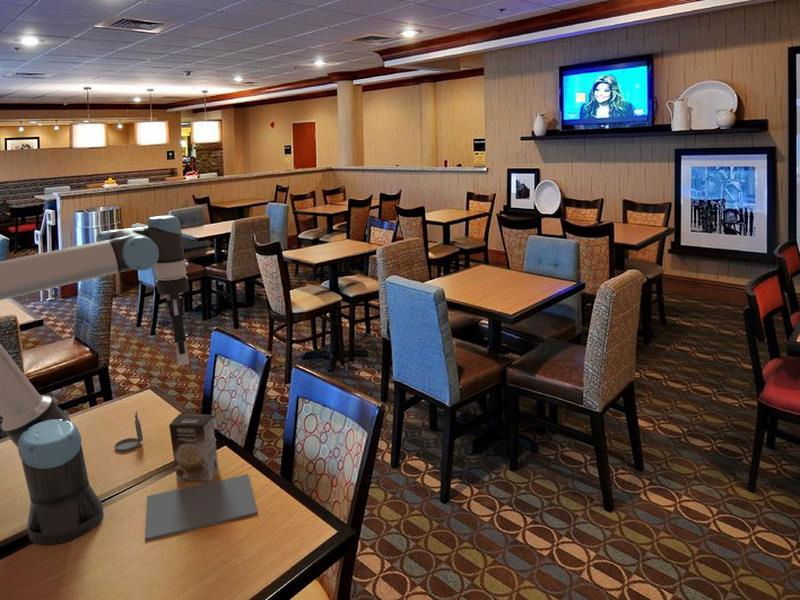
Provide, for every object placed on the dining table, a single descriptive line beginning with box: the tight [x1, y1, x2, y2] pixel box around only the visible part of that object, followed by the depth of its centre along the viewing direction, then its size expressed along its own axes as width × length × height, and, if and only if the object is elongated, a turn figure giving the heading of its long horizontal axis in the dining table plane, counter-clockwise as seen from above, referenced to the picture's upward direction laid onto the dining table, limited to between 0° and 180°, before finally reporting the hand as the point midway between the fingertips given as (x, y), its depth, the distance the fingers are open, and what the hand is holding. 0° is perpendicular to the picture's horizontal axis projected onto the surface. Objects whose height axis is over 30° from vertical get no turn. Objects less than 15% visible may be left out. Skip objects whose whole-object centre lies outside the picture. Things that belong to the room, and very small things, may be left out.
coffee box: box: [168, 413, 220, 483], centre depth 153 cm, size 9×6×16 cm
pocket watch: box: [114, 410, 144, 452], centre depth 170 cm, size 8×8×10 cm
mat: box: [144, 473, 259, 542], centre depth 142 cm, size 24×18×1 cm
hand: (183, 363), depth 160 cm, fingers closed
